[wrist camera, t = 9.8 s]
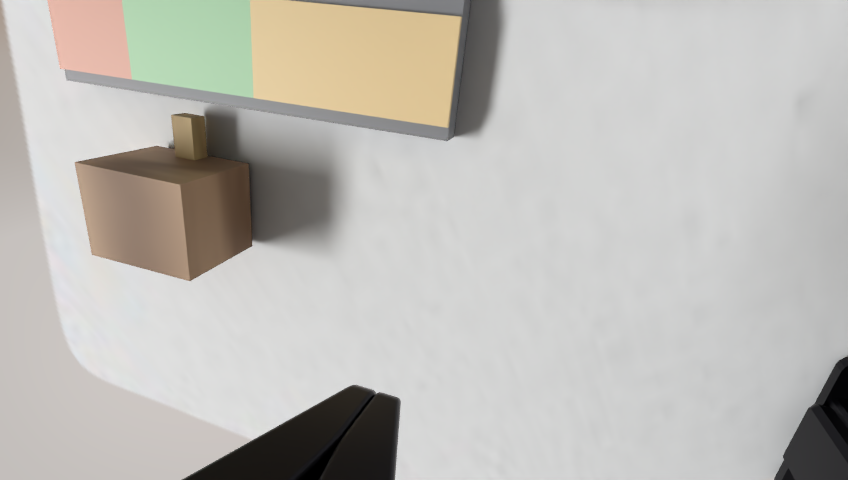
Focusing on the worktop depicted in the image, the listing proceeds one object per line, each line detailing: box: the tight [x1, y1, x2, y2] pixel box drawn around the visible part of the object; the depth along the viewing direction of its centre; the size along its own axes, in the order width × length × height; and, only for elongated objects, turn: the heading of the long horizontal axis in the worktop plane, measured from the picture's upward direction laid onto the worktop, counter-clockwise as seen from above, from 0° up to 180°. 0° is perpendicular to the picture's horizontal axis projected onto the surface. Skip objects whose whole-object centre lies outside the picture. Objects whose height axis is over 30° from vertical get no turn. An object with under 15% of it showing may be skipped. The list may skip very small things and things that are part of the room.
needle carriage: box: [75, 113, 252, 281], centre depth 20 cm, size 5×6×4 cm
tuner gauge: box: [48, 0, 471, 141], centre depth 15 cm, size 18×6×9 cm, turn 83°
